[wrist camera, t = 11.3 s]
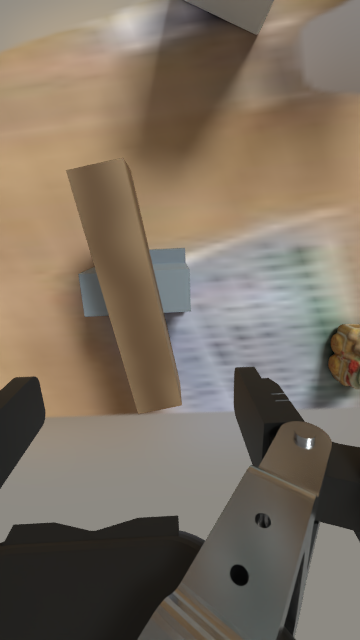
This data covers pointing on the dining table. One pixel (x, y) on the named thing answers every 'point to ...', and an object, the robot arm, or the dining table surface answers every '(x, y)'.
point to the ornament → (346, 355)
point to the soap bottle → (238, 11)
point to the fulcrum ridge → (168, 277)
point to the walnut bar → (127, 280)
